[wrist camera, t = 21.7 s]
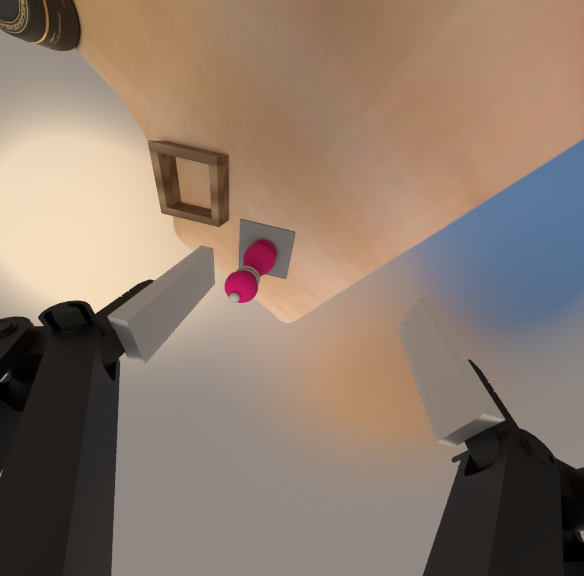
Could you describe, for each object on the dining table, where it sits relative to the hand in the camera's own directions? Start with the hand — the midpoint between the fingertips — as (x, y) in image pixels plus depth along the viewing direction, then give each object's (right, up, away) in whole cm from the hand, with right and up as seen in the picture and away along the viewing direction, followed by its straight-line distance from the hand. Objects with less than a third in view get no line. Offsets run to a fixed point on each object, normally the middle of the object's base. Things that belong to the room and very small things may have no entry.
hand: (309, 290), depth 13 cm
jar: (-40, +45, +20) cm, 63 cm away
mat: (-8, +9, +38) cm, 40 cm away
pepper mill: (-8, +9, +38) cm, 40 cm away
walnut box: (-21, +23, +31) cm, 44 cm away
